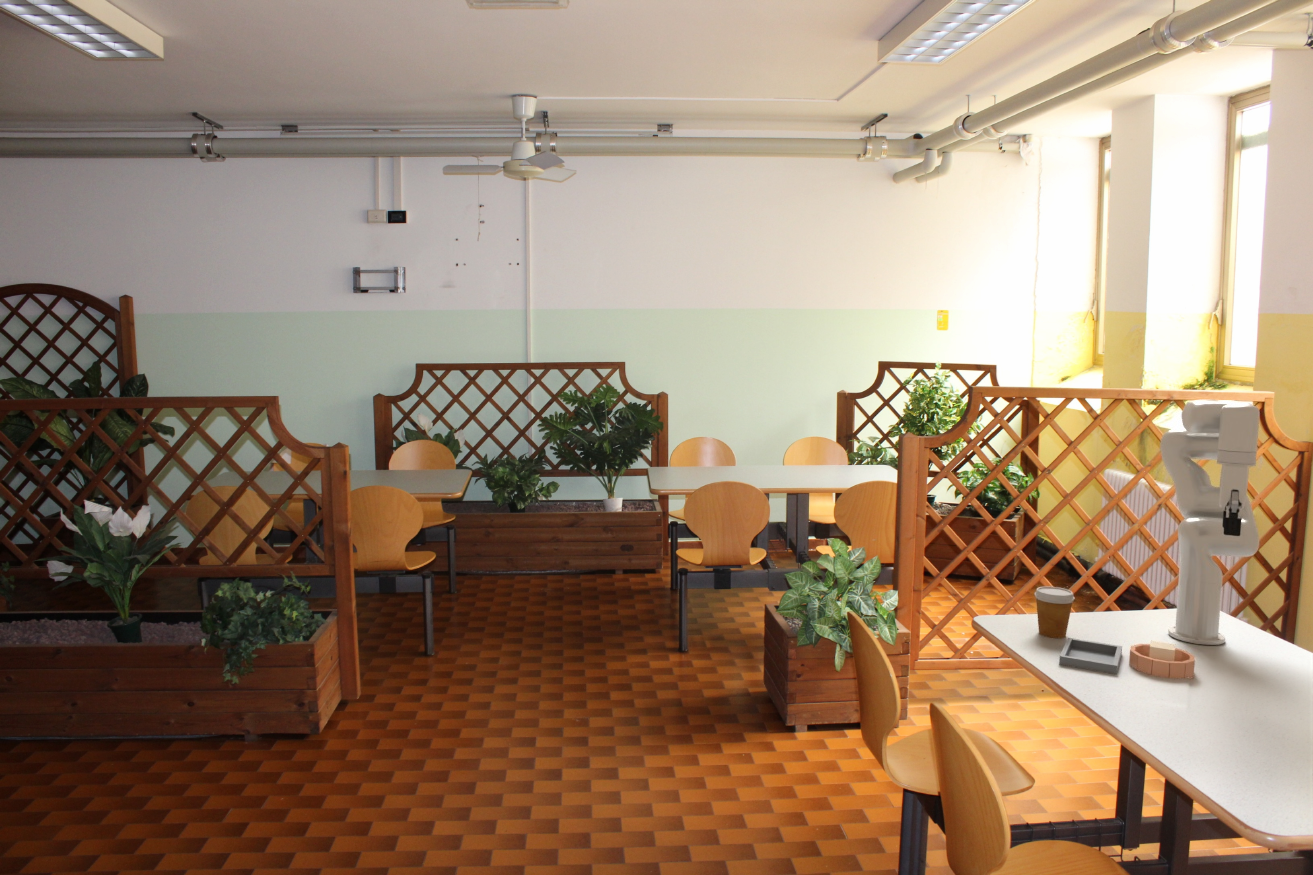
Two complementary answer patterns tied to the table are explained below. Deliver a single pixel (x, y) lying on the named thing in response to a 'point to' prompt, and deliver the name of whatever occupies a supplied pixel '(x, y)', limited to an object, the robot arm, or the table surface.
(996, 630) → the table surface
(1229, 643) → the table surface
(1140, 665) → the bowl
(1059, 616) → the disposable coffee cup
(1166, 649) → the cream beige cube
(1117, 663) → the parts tray
